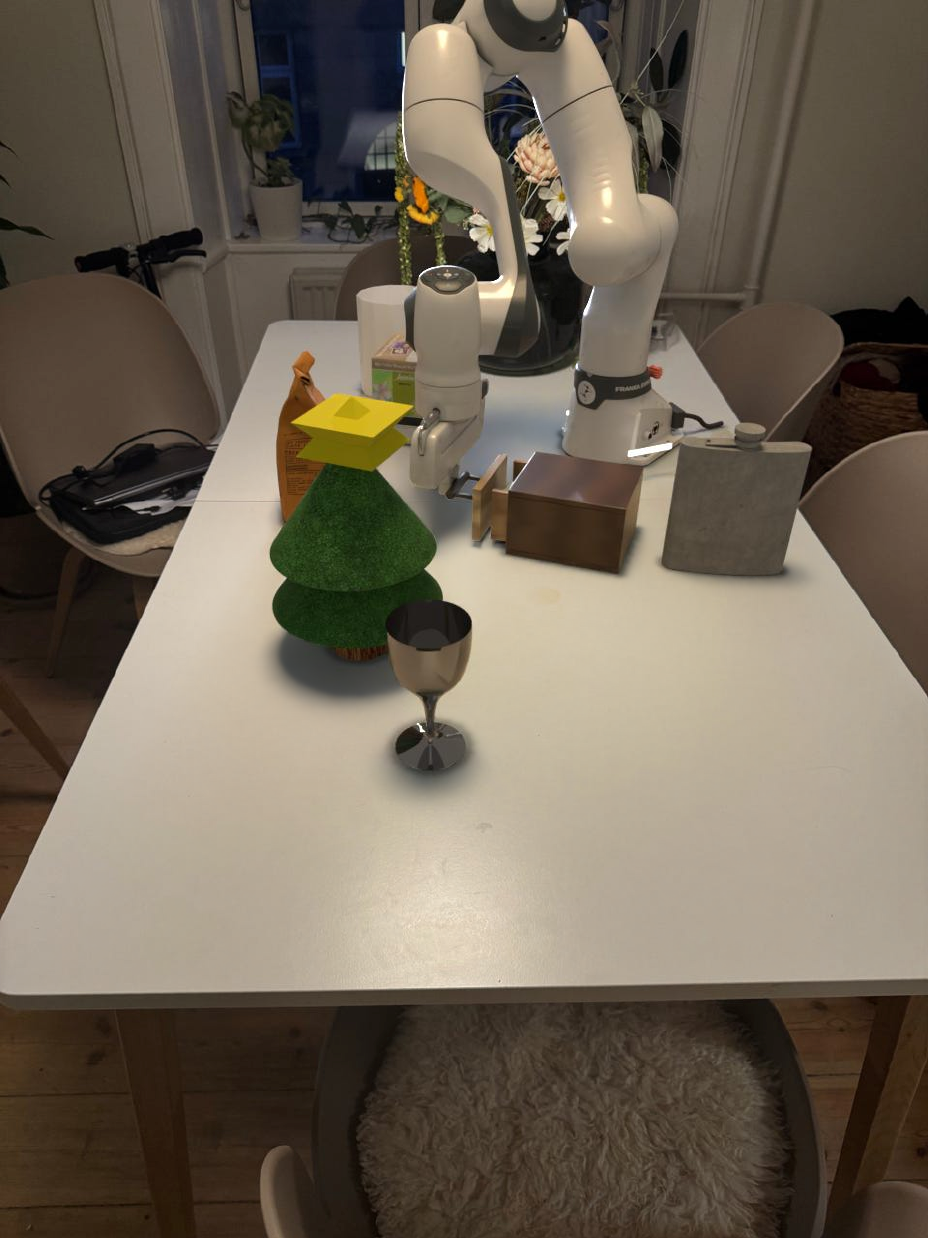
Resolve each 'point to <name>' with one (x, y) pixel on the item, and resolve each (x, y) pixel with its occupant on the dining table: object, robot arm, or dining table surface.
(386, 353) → the tea box
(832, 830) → the dining table surface
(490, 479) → the drawer
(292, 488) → the coffee package
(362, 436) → the decorative tree
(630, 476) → the cabinet
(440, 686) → the wine glass
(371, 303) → the container
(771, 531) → the hip flask
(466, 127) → the robot arm
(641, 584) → the dining table surface
